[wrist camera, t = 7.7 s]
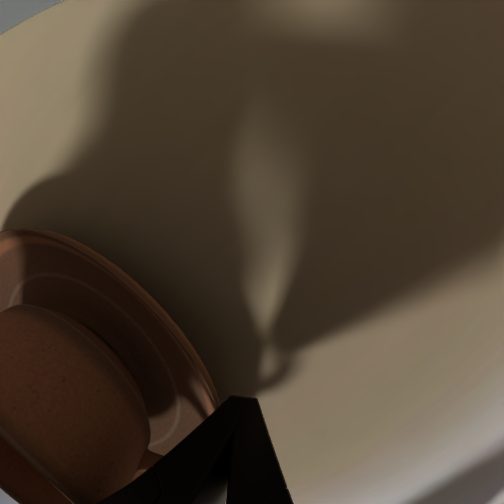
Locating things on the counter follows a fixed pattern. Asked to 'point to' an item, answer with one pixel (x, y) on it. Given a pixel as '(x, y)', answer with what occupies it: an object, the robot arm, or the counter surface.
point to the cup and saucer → (86, 373)
